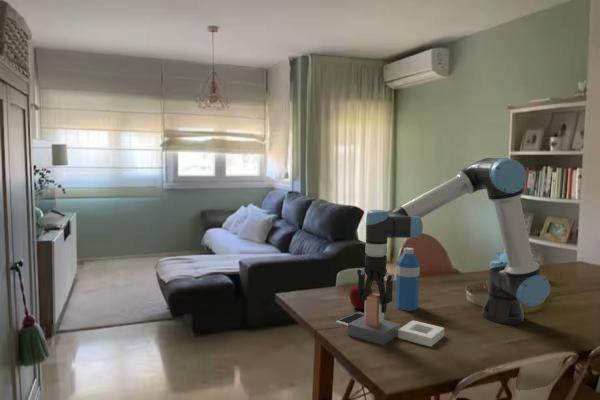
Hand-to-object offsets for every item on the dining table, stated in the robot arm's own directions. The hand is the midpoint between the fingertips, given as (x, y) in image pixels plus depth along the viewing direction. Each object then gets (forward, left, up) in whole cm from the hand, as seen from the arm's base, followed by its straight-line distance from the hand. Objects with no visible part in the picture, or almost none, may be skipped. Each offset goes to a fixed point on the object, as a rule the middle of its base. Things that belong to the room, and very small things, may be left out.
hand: (374, 319), depth 166 cm
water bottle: (+4, -36, -6) cm, 37 cm away
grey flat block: (0, 0, -6) cm, 6 cm away
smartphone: (+13, -9, -6) cm, 17 cm away
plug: (0, 0, -6) cm, 6 cm away
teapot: (-18, -120, -6) cm, 121 cm away
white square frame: (-14, -9, -6) cm, 18 cm away
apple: (+18, -22, -6) cm, 29 cm away
